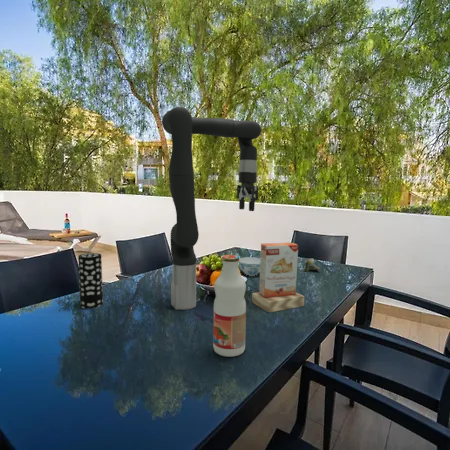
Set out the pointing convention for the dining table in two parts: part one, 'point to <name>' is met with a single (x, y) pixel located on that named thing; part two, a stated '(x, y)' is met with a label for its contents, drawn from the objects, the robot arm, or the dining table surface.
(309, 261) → the artificial flower
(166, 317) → the dining table surface
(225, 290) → the fruit juice
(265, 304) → the birch plinth
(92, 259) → the white-spotted black cylinder
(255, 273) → the chinaware
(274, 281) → the cracker box
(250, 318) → the dining table surface
